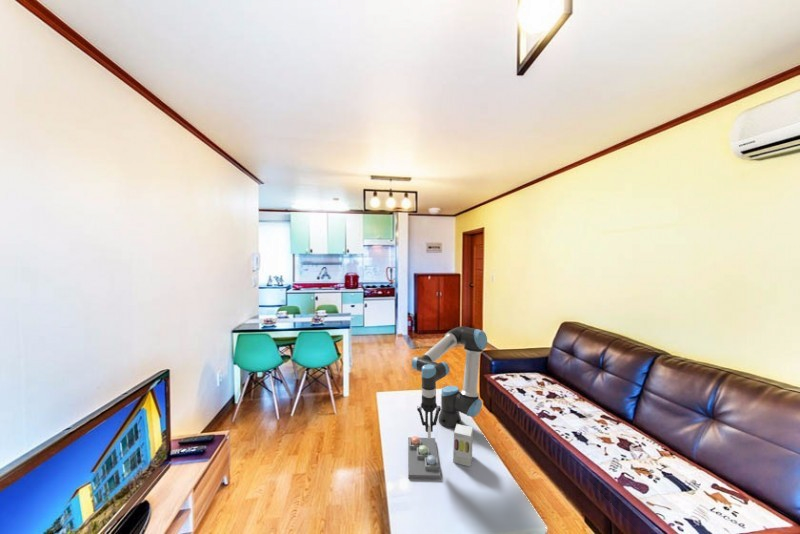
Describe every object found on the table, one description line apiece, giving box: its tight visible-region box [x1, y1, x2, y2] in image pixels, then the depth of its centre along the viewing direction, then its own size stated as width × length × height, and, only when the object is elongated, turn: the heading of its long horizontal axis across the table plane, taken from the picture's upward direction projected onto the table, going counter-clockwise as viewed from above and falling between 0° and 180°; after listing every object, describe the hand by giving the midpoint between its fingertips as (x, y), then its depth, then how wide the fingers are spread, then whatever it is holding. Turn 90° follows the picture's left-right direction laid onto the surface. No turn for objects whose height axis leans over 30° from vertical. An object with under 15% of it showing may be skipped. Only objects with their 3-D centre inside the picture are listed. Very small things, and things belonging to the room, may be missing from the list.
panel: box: [407, 436, 441, 480], centre depth 163 cm, size 16×30×4 cm, turn 179°
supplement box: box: [452, 424, 474, 467], centre depth 162 cm, size 10×9×17 cm
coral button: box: [411, 435, 420, 445], centre depth 171 cm, size 4×4×4 cm
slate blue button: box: [427, 455, 436, 465], centre depth 154 cm, size 4×4×4 cm
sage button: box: [419, 445, 427, 455], centre depth 163 cm, size 4×4×4 cm
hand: (429, 437), depth 159 cm, fingers closed
